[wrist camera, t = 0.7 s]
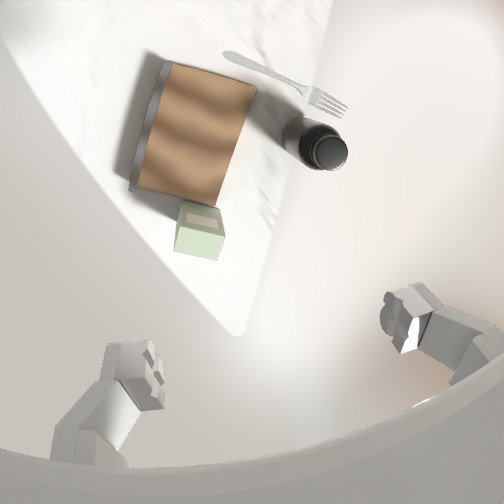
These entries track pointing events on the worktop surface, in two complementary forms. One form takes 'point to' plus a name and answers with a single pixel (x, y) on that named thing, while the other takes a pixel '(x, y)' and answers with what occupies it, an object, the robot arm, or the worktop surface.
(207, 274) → the worktop surface
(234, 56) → the fork
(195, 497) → the robot arm
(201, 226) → the carton
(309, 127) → the supplement bottle
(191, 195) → the shelf board
